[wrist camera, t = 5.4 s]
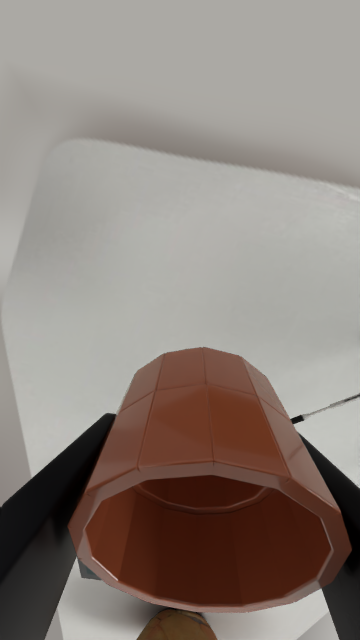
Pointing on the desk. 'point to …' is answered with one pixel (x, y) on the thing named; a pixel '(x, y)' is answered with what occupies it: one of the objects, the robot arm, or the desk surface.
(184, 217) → the desk surface
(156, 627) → the bowl
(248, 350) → the desk surface
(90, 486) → the terracotta cup
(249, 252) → the desk surface
